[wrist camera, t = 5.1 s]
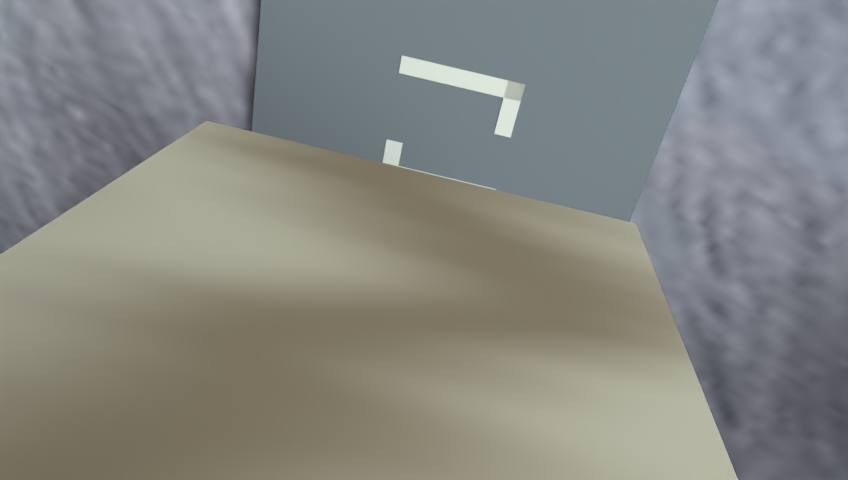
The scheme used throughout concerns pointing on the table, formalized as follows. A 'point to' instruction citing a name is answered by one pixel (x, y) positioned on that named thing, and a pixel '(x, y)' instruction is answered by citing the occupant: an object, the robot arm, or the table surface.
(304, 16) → the mat
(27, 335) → the ash block
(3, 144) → the table surface
